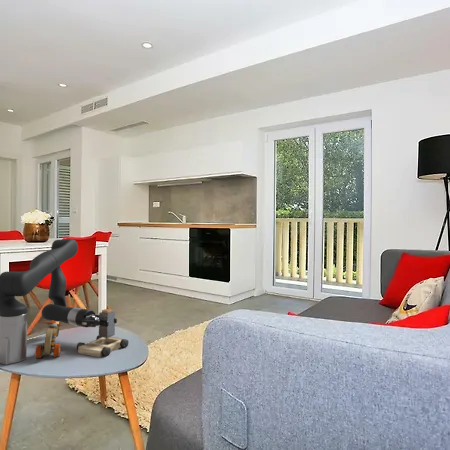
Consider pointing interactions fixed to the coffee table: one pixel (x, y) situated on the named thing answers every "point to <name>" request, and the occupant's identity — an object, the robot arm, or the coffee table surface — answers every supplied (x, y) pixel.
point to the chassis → (101, 346)
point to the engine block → (110, 317)
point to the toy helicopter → (49, 341)
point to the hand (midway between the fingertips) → (112, 322)
